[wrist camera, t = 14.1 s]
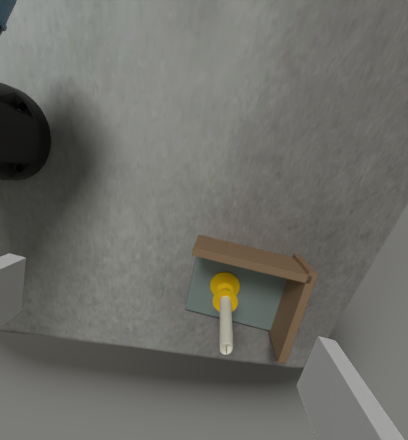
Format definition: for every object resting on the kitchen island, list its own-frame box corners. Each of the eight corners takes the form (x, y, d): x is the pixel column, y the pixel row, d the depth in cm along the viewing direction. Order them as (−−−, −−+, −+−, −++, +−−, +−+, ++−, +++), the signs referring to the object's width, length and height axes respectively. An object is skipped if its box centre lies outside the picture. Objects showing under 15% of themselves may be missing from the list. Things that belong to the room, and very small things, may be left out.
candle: (235, 268, 39) (243, 328, 24) (242, 295, 40) (255, 369, 24) (206, 275, 39) (196, 337, 24) (214, 301, 40) (209, 377, 25)
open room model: (181, 309, 42) (173, 335, 35) (199, 231, 39) (194, 243, 32) (275, 332, 41) (285, 364, 34) (300, 256, 38) (318, 273, 31)
